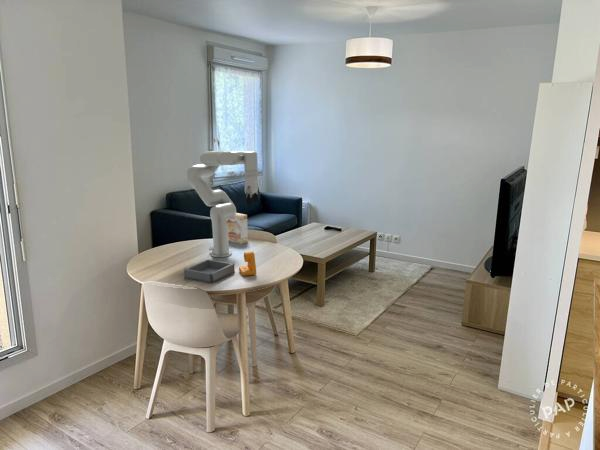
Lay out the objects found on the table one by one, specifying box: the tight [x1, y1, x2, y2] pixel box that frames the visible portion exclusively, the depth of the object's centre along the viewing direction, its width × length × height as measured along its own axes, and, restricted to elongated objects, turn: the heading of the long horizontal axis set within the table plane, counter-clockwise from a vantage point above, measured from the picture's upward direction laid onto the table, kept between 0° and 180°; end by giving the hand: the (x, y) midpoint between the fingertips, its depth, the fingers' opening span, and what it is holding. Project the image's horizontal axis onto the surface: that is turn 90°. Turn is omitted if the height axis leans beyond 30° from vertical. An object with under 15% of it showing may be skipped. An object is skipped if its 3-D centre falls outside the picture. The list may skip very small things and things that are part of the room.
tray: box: [183, 259, 235, 285], centre depth 237 cm, size 18×20×5 cm
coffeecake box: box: [225, 212, 249, 245], centre depth 306 cm, size 15×7×20 cm, turn 50°
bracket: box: [238, 251, 257, 277], centre depth 240 cm, size 11×7×12 cm, turn 20°
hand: (252, 203), depth 255 cm, fingers open, 9 cm apart
